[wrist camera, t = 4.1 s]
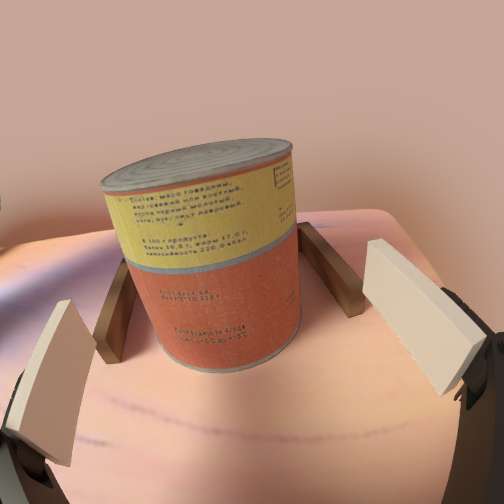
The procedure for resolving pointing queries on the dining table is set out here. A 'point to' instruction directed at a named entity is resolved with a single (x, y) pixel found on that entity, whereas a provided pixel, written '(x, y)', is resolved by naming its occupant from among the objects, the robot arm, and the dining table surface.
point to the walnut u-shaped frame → (309, 242)
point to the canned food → (213, 249)
